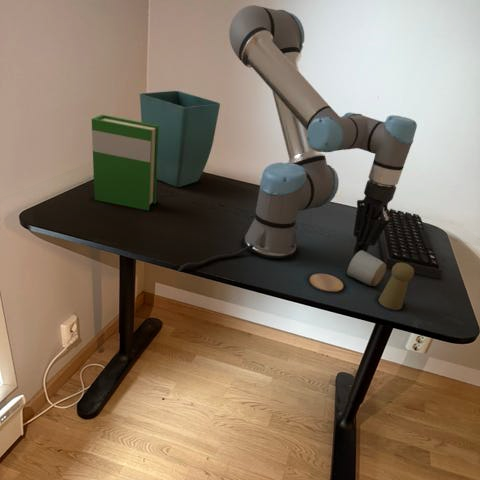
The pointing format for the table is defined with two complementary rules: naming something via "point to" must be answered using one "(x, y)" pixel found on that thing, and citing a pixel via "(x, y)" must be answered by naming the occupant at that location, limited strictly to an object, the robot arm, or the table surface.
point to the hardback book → (125, 161)
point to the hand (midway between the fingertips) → (355, 263)
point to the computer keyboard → (408, 244)
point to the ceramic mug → (366, 268)
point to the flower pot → (180, 133)
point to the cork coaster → (326, 282)
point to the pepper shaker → (396, 286)
